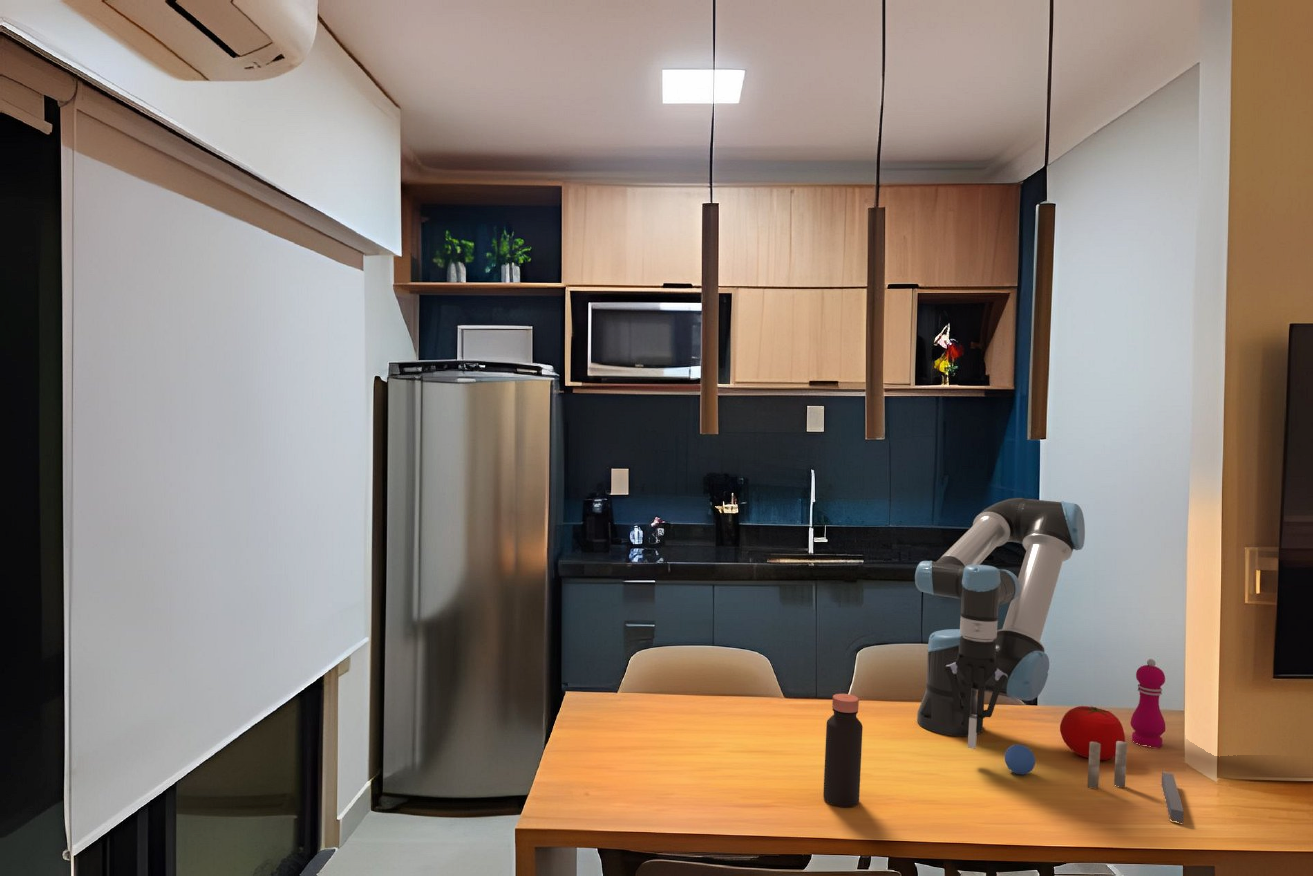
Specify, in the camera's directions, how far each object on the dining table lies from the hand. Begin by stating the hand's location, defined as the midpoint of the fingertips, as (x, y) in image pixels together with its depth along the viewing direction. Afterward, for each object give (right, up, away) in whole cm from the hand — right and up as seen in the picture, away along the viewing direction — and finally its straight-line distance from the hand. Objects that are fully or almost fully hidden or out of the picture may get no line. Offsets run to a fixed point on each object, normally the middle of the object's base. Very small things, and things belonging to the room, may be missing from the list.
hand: (971, 746), depth 190 cm
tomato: (+30, -5, +8) cm, 31 cm away
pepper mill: (+48, -6, +18) cm, 51 cm away
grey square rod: (+34, -6, -16) cm, 38 cm away
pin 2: (+27, -5, -8) cm, 29 cm away
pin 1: (+21, -5, -9) cm, 24 cm away
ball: (+9, -1, -4) cm, 10 cm away
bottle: (-33, -3, -21) cm, 39 cm away
